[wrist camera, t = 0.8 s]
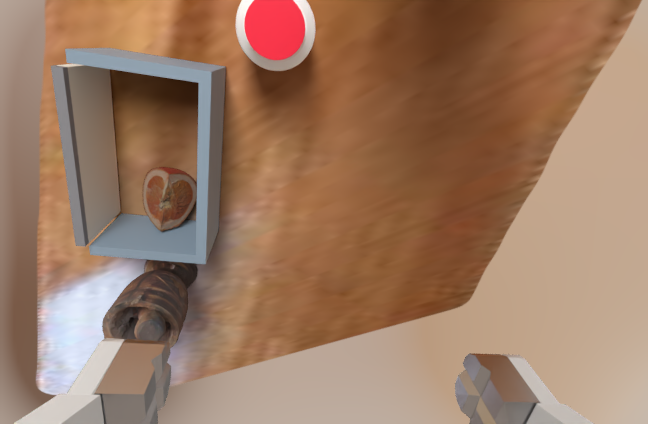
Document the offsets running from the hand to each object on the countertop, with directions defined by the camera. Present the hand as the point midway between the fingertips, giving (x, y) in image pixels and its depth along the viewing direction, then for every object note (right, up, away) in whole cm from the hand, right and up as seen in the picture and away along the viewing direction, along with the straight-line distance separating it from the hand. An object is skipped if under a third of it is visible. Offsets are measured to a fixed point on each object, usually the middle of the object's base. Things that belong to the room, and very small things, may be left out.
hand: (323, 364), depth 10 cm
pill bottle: (-5, +26, +33) cm, 42 cm away
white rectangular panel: (-28, +13, +36) cm, 47 cm away
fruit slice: (-21, +7, +40) cm, 45 cm away
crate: (-21, +12, +37) cm, 44 cm away
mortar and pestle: (-22, -3, +44) cm, 50 cm away
